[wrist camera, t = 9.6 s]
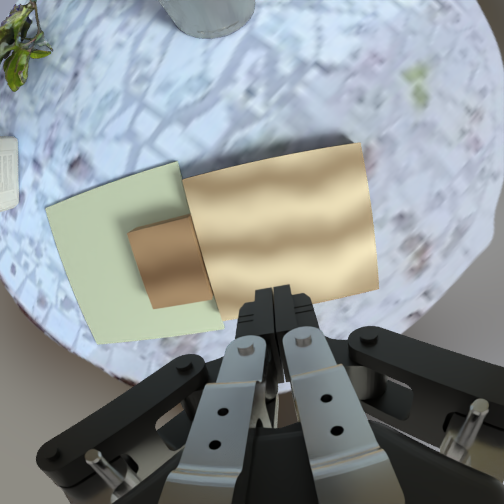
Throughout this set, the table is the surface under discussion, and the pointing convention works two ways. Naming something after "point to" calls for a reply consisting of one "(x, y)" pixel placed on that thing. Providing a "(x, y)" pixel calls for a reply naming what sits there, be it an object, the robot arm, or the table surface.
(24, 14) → the passion flower
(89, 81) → the table surface
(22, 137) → the table surface
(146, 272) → the walnut slab
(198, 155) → the table surface
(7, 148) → the photo printer
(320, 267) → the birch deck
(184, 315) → the sage mat
